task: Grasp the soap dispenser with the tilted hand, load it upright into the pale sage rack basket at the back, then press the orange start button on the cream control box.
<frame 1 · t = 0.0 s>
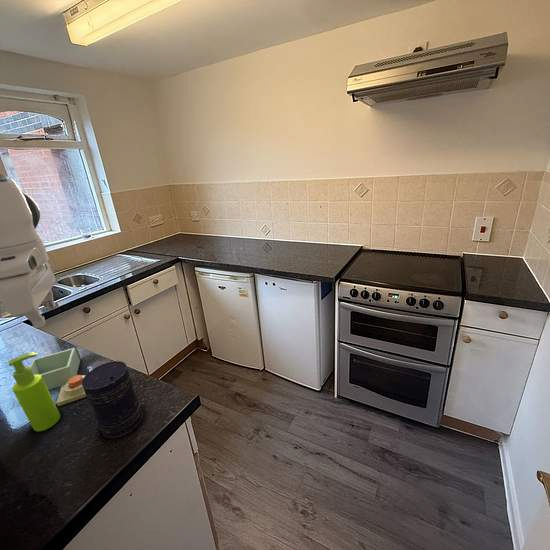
hand: (46, 316, 65), 31 cm above the countertop, tool pointing down, fingers open, 8 cm apart
soap dispenser: (49, 421, 79), on the countertop
control box: (80, 390, 89), on the countertop
start button: (75, 381, 87), point 4 cm above the countertop, slide at 0.2 cm
rack basket: (56, 377, 96), on the countertop
storage jar: (123, 422, 76), on the countertop
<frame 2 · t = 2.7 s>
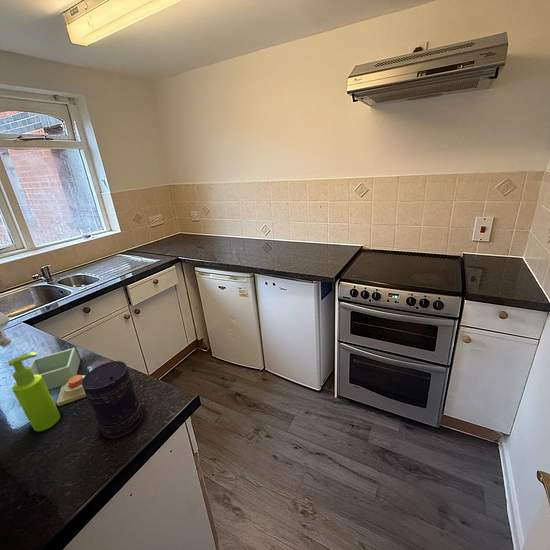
nothing on the countertop moved.
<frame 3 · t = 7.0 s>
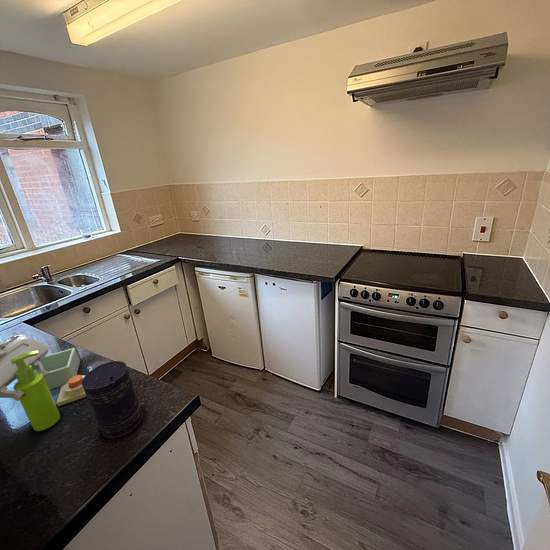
hand: (34, 386, 74), 11 cm above the countertop, tool tilted 45°, fingers closed on soap dispenser, 6 cm apart
soap dispenser: (49, 421, 79), on the countertop, touching gripper
everything else where it was.
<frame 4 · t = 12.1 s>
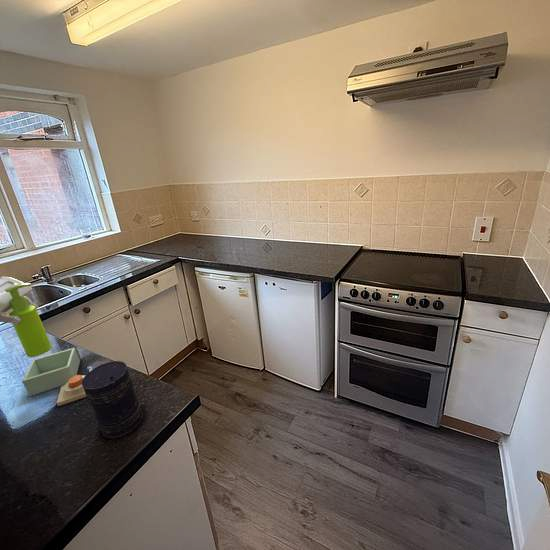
hand: (28, 315, 82), 25 cm above the countertop, tool tilted 45°, fingers closed on soap dispenser, 6 cm apart
soap dispenser: (41, 350, 86), point 13 cm above the countertop, touching gripper
everything else where it was.
when the fingers open (12 cm above the countertop, at t = 17.7 s): soap dispenser stays where it is, resting on rack basket.
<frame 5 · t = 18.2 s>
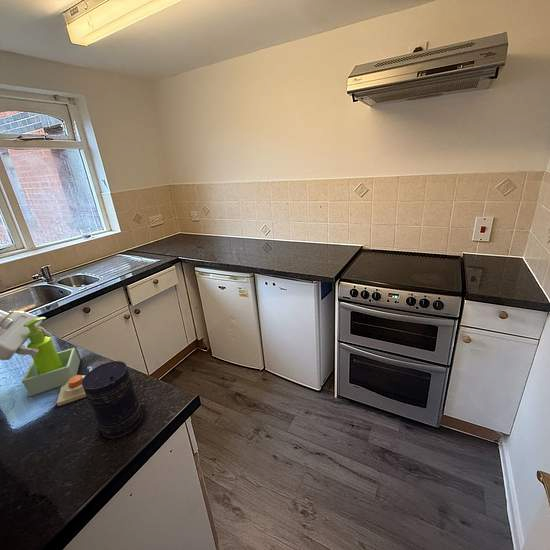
hand: (44, 344, 92), 12 cm above the countertop, tool tilted 45°, fingers open, 8 cm apart
soap dispenser: (56, 375, 96), resting on rack basket
everything else where it was.
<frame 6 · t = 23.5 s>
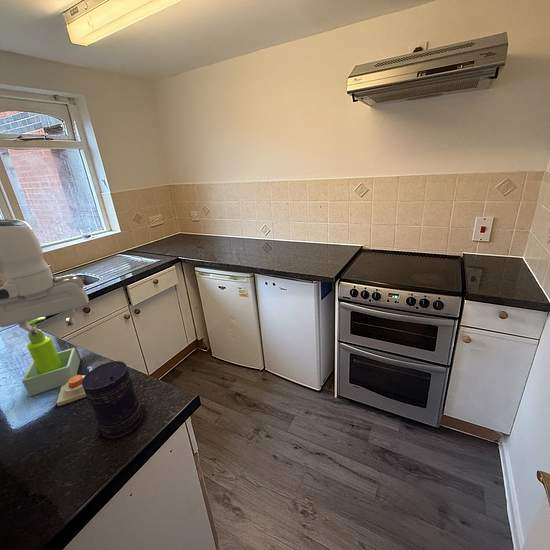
hand: (53, 329, 81), 21 cm above the countertop, tool pointing down, fingers open, 7 cm apart
nothing on the countertop moved.
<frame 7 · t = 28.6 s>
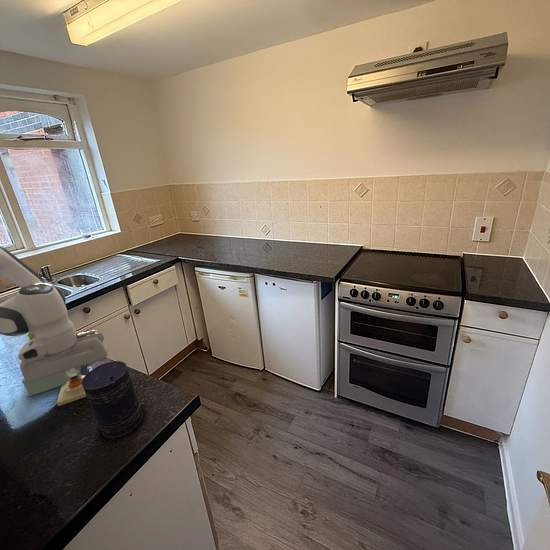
hand: (75, 379, 87), 4 cm above the countertop, tool pointing down, fingers closed, pressing on start button
start button: (76, 382, 88), point 3 cm above the countertop, slide at -0.2 cm, touching gripper
everything else where it was.
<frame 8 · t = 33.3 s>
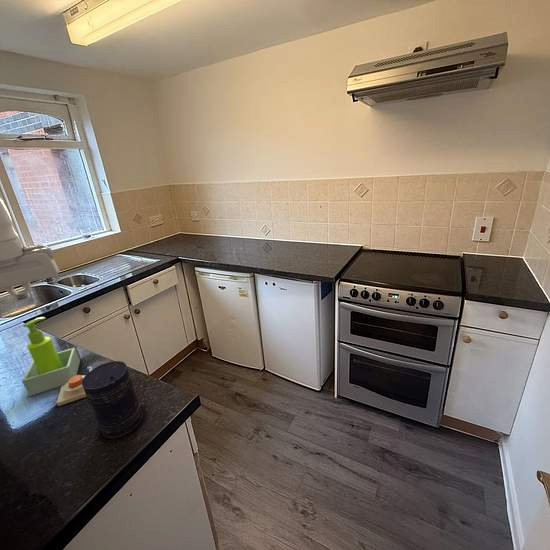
hand: (23, 299, 83), 29 cm above the countertop, tool pointing down, fingers closed
start button: (75, 381, 87), point 4 cm above the countertop, slide at 0.2 cm
everything else where it was.
at the end: soap dispenser inside the target area in the rack basket (0.2 cm from its centre), point 0.4 cm above the rack basket's base; soap dispenser tilted 0°; start button pushed in 1.0 cm at the most during the clip, back to 0.2 cm at the end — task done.
